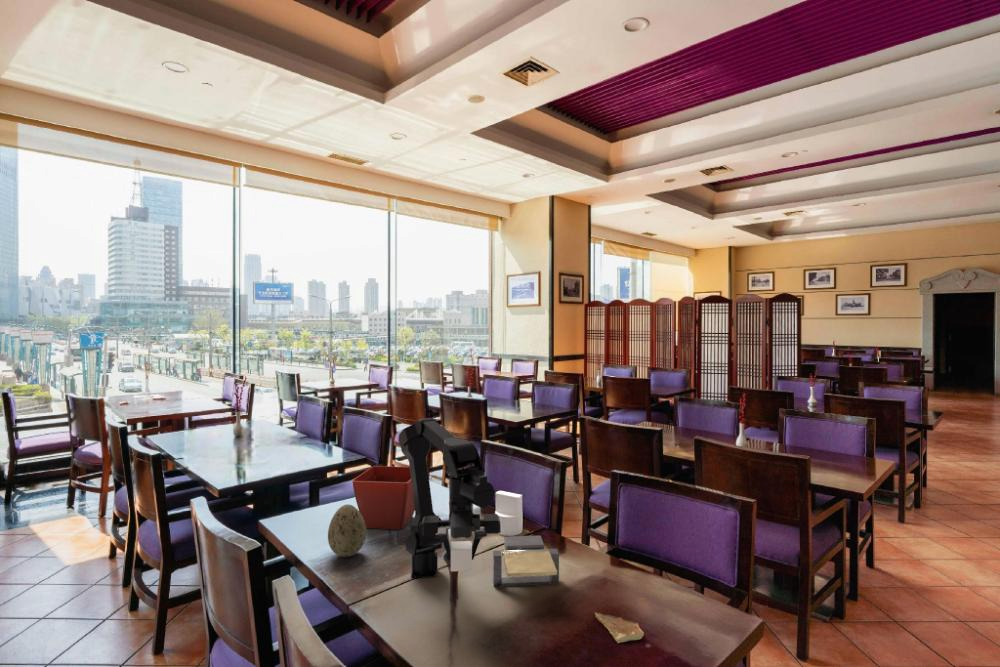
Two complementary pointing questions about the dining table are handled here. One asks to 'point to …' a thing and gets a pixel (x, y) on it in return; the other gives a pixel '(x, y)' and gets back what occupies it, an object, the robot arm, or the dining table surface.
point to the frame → (523, 580)
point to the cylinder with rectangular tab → (509, 512)
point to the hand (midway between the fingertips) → (461, 559)
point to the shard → (620, 627)
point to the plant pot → (385, 497)
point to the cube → (461, 556)
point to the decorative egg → (346, 531)
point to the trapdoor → (527, 557)
